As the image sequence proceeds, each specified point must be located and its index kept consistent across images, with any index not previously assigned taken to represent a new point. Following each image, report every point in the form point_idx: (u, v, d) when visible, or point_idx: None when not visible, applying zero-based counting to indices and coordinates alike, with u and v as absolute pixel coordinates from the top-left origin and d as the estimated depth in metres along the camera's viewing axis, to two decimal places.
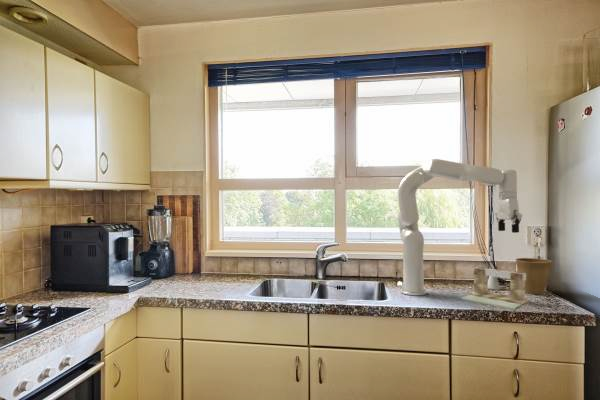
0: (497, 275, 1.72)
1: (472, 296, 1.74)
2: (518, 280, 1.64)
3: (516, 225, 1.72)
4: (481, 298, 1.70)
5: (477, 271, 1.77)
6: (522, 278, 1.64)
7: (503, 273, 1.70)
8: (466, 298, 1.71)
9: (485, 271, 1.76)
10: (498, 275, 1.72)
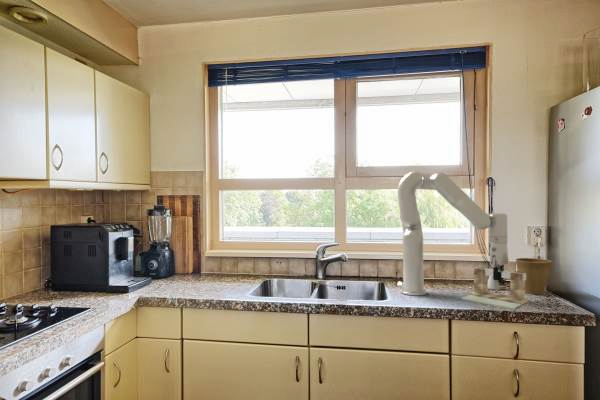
0: None
1: (472, 296, 1.74)
2: (518, 280, 1.64)
3: None
4: (481, 298, 1.70)
5: (477, 271, 1.77)
6: (522, 278, 1.64)
7: (503, 273, 1.70)
8: (466, 298, 1.71)
9: (485, 271, 1.76)
10: None
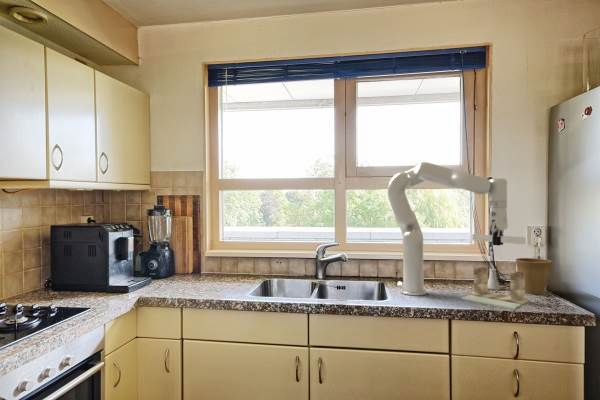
0: None
1: (472, 296, 1.74)
2: (518, 280, 1.64)
3: None
4: (481, 298, 1.70)
5: (477, 271, 1.77)
6: (521, 242, 1.64)
7: (502, 238, 1.70)
8: (466, 298, 1.71)
9: (484, 237, 1.76)
10: None
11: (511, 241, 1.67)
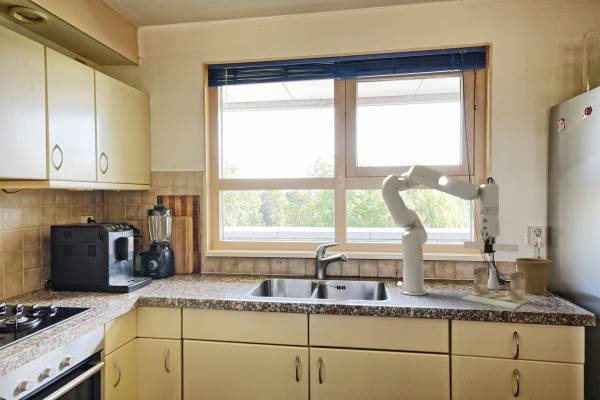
0: None
1: (472, 296, 1.74)
2: (518, 280, 1.64)
3: None
4: (481, 298, 1.70)
5: (477, 271, 1.77)
6: (514, 250, 1.57)
7: (494, 245, 1.63)
8: (466, 298, 1.71)
9: (476, 244, 1.69)
10: None
11: (503, 249, 1.60)
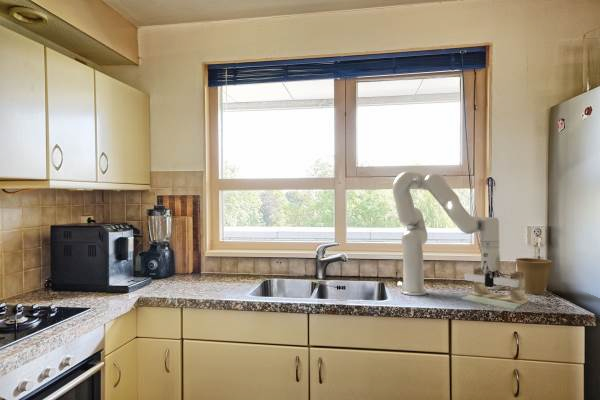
0: None
1: (472, 296, 1.74)
2: None
3: None
4: (481, 298, 1.70)
5: (477, 271, 1.77)
6: (515, 285, 1.57)
7: (495, 279, 1.63)
8: (466, 298, 1.71)
9: (477, 277, 1.69)
10: None
11: (504, 283, 1.60)
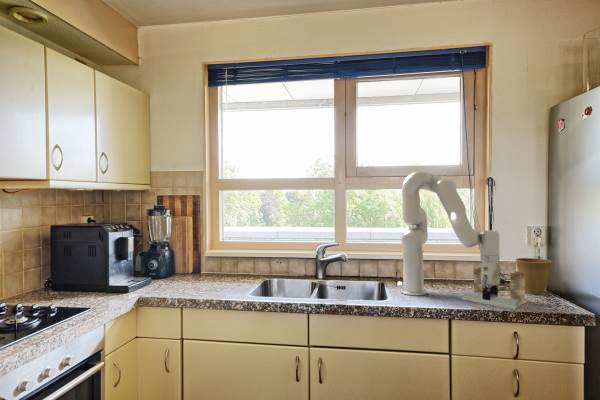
0: (488, 300, 1.65)
1: None
2: (518, 280, 1.64)
3: None
4: None
5: (477, 271, 1.77)
6: (514, 304, 1.57)
7: (495, 298, 1.63)
8: (466, 298, 1.71)
9: (476, 295, 1.69)
10: (489, 300, 1.65)
11: (503, 302, 1.61)
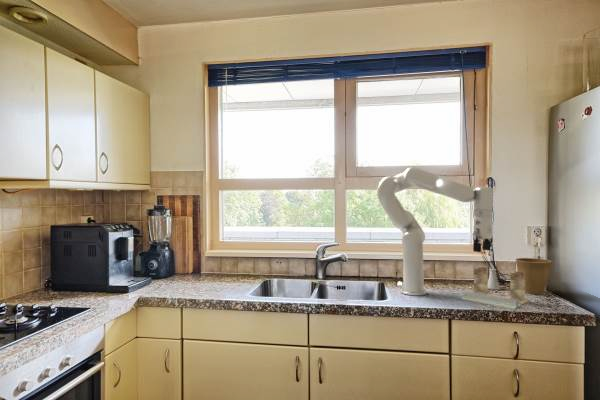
0: (488, 300, 1.65)
1: None
2: (518, 280, 1.64)
3: None
4: None
5: (477, 271, 1.77)
6: (514, 304, 1.57)
7: (495, 298, 1.63)
8: (466, 298, 1.71)
9: (476, 295, 1.69)
10: (489, 300, 1.65)
11: (503, 302, 1.61)
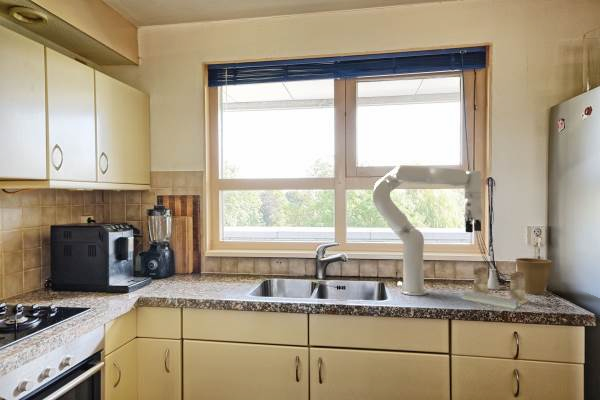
0: (488, 300, 1.65)
1: None
2: (518, 280, 1.64)
3: None
4: None
5: (477, 271, 1.77)
6: (514, 304, 1.57)
7: (495, 298, 1.63)
8: (466, 298, 1.71)
9: (476, 295, 1.69)
10: (489, 300, 1.65)
11: (503, 302, 1.61)
